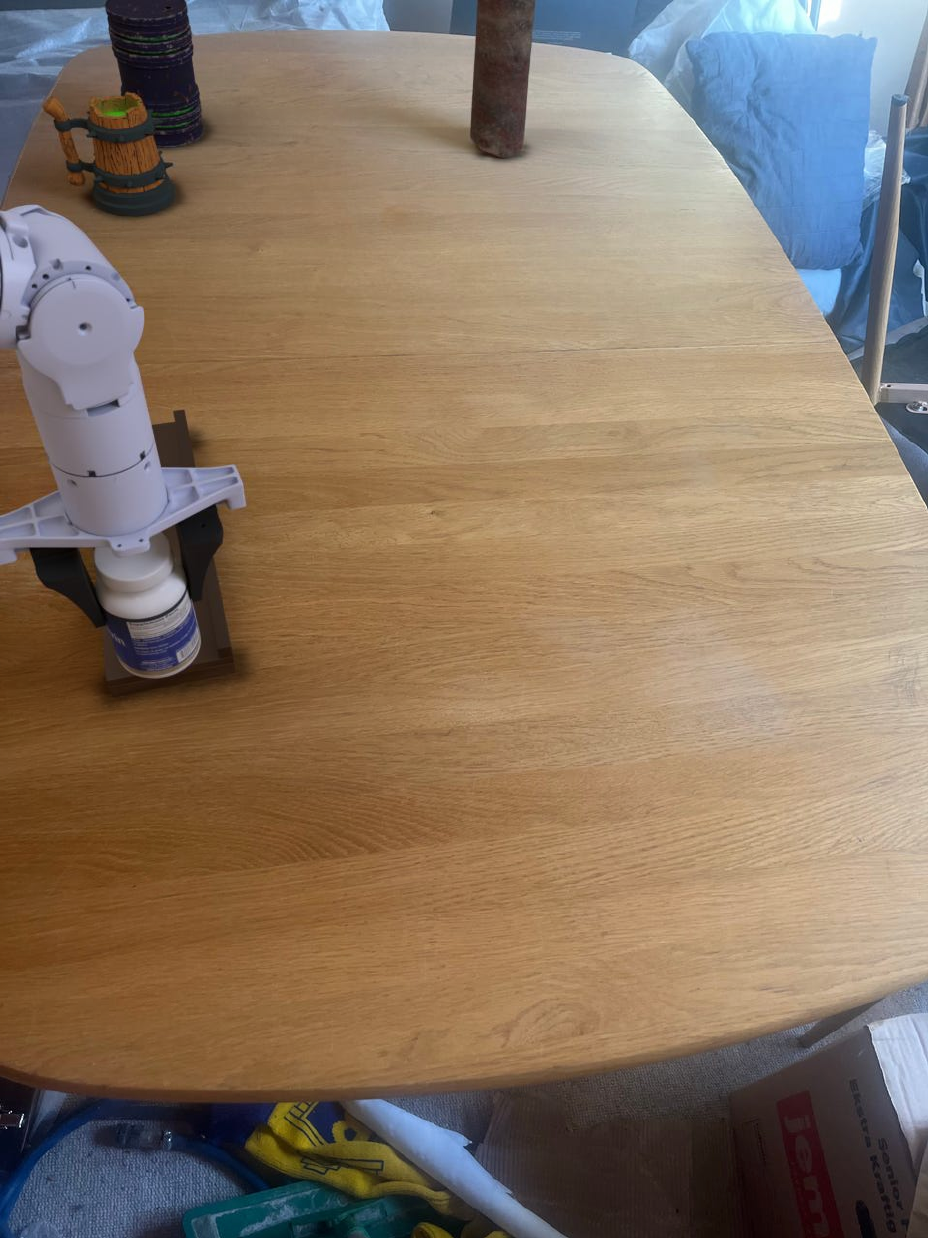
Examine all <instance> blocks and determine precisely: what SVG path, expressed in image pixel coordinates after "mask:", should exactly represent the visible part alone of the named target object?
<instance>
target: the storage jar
mask: <svg viewBox="0 0 928 1238" xmlns="http://www.w3.org/2000/svg"><path fill="white" fill-rule="evenodd" d="M104 8H105V9H104V10H105V14H106V15H107V17H106V20H107V24H108V28H107V29H108V35H109V39H110V41H111V50H112V52H113V56H114V57H115V59H116V62H117V67H118V72H119V77H120V82H121V85H120V96H125V94H126V92H130V93H135V94H137V95H138V96H139V97H140V98H141V99H142V102H143V104H144V106H145V109H146V110H150V109H152V110H153V112H152V113H151V114H150V115H151V117H152V118H153V119H154V120H163V123H162V124H160V125H157V126H155V129H154V131H153V132H154V133H155V134H154V135H153V136H154V140H155V143H156V147H157V148H176V147H183V146H187V145H189V144H192V143H194V142H197V141H198V140H199V139H200V138H202V137H203V135H204V131H205V130H204V124H203V122H202V120H203V115H202V112H203V107H202V100H201V97H200V96H201V92H200V88H199V85H198V84H197V83H196V77H195V69H194V68H195V67H194V62H193V56H194V49H195V47H194V44H193V33H192V27H191V24H190V18H189V15H188V13H189V12H188V11H189V9H188V3H187V1H186V0H105V1H104Z"/></svg>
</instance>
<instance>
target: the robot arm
mask: <svg viewBox="0 0 928 1238" xmlns="http://www.w3.org/2000/svg"><path fill="white" fill-rule="evenodd" d="M144 327H145V311H144V307H143V306H141V305H138V304H137V303H136V301H135V297H134V294H133V292H132V290H131V289H130V286H129V285H128V283H127V282H126V281H125V279H124V278H123V277H122V276H121V275H120V274H119V271H117V270H116V269H115V268H114V266H113V265H112V263H110V262H109V260H108V259H107V258H106V257H105V255H103V253H102V251H100V250H99V249H98V247H97V246H96V244H94V242H93V241H92V240H91V239H90V238H89V236H87V234H86V233H85V232H84V231H83V230H82V229H81V228H79V227H78V226H76V225H75V224H74V223H73V222H72V221H71V220H69V219H68V218H67V217H65V216H63V215H60V214H59V213H56V212H53V211H49V210H47V209H45V208H44V207H43V206H41V205H38V204H26V205H20V206H19V205H18V206H15V207H13V208H10V209H7V210H5V211H4V210H0V350H3V351H4V350H14V352H15V356H16V358H17V361H18V364H19V367H20V370H21V373H22V374H21V375H22V385H23V390H24V393H25V395H26V398H27V401H28V404H29V407H30V411H31V413H32V416H33V419H34V422H35V425H36V428H37V430H38V431H37V432H38V434H39V436H40V440H41V443H42V445H43V448H44V452H45V454H46V457H47V460H48V464H49V466H50V468H51V471H52V474H53V477H54V480H55V484H56V485H57V490H55V491H53V492H50V493H49V494H46V495H45V496H42V497H40V498H38V499H36V500H34V501H31V502H30V503H27V504H25V505H23V506H21V507H19V508H17V509H14V510H12V511H10V512H6V513H4V514H1V515H0V566H3V565H8V564H12V563H15V562H16V561H18V555H17V554H21V553H25V552H29V553H30V556H31V558H32V562H33V565H34V569H35V573H36V576H37V578H38V580H39V581H40V583H42V585H43V586H44V587H45V588H47V589H49V590H52V591H54V592H57V593H58V594H60V595H62V596H63V597H65V598H66V599H68V600H69V601H71V602H72V603H73V604H75V605H76V607H78V608H79V609H80V610H81V612H83V613H84V614H85V616H87V618H88V619H89V620H90V621H91V623H92V624H93V626H94V628H96V629H99V628H101V627H103V626H106V622H105V619H104V616H103V613H102V610H101V608H100V605H99V603H98V600H97V596H96V591H95V584H94V582H93V580H92V577H91V575H90V574H89V572H88V569H87V567H86V565H85V562H84V560H83V556H82V554H81V551H80V548H94V547H109V548H111V550H112V553H113V555H114V556H115V557H118V558H123V557H128V556H132V555H136V554H140V553H144V552H146V551H148V550H149V548H150V542H149V538H150V537H152V536H154V535H156V534H158V533H159V532H161V531H163V530H165V529H167V528H169V527H171V526H173V525H175V528H176V532H177V536H178V541H179V547H180V555H181V563H182V567H183V569H184V571H185V574H186V578H187V582H188V587H189V591H190V596H191V599H192V602H197V601H201V600H202V599H203V586H204V581H205V577H206V573H207V570H208V567H209V564H210V562H211V560H212V558H213V556H215V554H216V553H217V551H218V550H219V548H220V547H221V546H222V545H223V544H224V543H223V542H224V535H225V533H224V527H223V523H222V521H221V518H220V515H219V512H218V507H219V506H223V505H226V507H227V509H229V510H231V511H233V510H238V509H243V508H246V507H247V502H246V495H245V488H244V482H243V480H242V477H241V475H240V473H239V471H238V469H237V466H236V465H235V464H234V463H232V464H228V465H227V464H226V465H221V466H212V467H196V468H169V467H161V465H160V460H159V456H158V452H157V447H156V443H155V439H154V434H153V430H152V425H153V424H152V421H151V417H150V412H149V409H148V404H147V400H146V395H145V391H144V390H145V389H144V386H143V381H142V377H141V373H140V368H139V366H138V365H139V364H138V363H137V361H136V358H135V354H134V353H135V351H136V349H137V347H138V346H139V343H140V341H141V339H142V335H143V332H144Z"/></svg>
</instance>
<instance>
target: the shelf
mask: <svg viewBox="0 0 928 1238" xmlns="http://www.w3.org/2000/svg"><path fill="white" fill-rule="evenodd" d="M172 413H173V418H174V421H170V422H162V423H155V424H151V425H152V430H153V434H154V439H155V443H156V447H157V452H158V456H159V460H160V465H161V467H169V468H197V466H196V461H195V456H194V451H193V446H192V441H191V436H190V435H191V434H190V431H189V425H188V421H187V417H186V415H187V414H186V410H185V409H178V410H173V411H172ZM161 532H162V533H163V534H164V535H165V536H166V537H167V539H168V540H169V542H170V545H171V548H172V552H173V554H174V558H175V559H176V560H178V562H179V563H180V564H181V565H182V563H181V555H180V547H179V541H178V536H177V532H176V528H175V525H173V526H171V527H169V528H167V529H165V530H163V531H161ZM95 548H96V547H93V551H94V550H95ZM214 556H215V555H214ZM214 556H213V558H212V560H211V562H210V564H209V567H208V570H207V573H206V577H205V581H204V586H203V599H202V600H201V601H197V602H192V603H193V607H194V611H195V615H196V620H197V624H198V628H199V632H200V638H201V644H200V649H199V652H198V654H197V656H196V657H195V659H194V660H193V662H192V663H191V664H190V665H189V666H187V667H186V668H185V669H183V670H182V671H180V672H178V673H176V674H174V675H171V676H168V677H164V678H144V677H140V676H137V675H134V674H132V673H131V672H129V671H128V670H126V669H125V668H124V667H123V665H122V664H121V663H120V661H119V659H118V657H117V654H116V651H115V648H114V645H113V642H112V640H111V637H110V634H109V631H108V628H107V625H106V626H103V627H100V628H101V636H102V648H103V659H104V669H105V680H106V681H105V682H106V683H107V686H108V689H109V692H110V694H111V697H113V698H114V697H118V696H123V695H128V694H133V693H134V694H135V693H138V692H144V691H150V690H154V689H159V688H163V687H164V688H165V687H169V686H173V685H178V684H184V683H189V682H194V681H199V680H204V679H205V680H206V679H209V678H214V677H215V678H216V677H221V676H225V675H229V674H234V673H237V668H236V663H235V658H234V652H233V647H232V642H231V637H230V632H229V626H228V622H227V617H226V616H227V615H226V611H225V606H224V602H223V597H222V591H221V586H220V582H219V581H220V580H219V577H218V576H219V575H218V573H217V572H218V571H217V567H216V561H215V557H214ZM95 574H96V577H97V576H98V575H97V572H96V571H95Z"/></svg>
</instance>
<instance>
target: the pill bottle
mask: <svg viewBox="0 0 928 1238" xmlns="http://www.w3.org/2000/svg"><path fill="white" fill-rule="evenodd" d="M149 542H150V548H149V550H148V551H146V552H144V553H140V554H136V555H132V556H128V557H123V558H118V557H115V556H114V555H113V553H112V550H111V548H109V547H96V548H95V550H94V549H93V556H92V561H93V565H94V568H95V573H96V572H97V575H98V576H97V575H96V579H95V584H94V587H95V591H96V596H97V600H98V603H99V605H100V608H101V610H102V613H103V616H104V619H105V622H106V625H107V628H108V631H109V634H110V637H111V640H112V642H113V645H114V648H115V651H116V654H117V657H118V659H119V661H120V663H121V664H122V665H123V667H124V668H125V669H126V670H128V671H129V672H131V673H132V674H134V675H137V676H140V677H144V678H164V677H168V676H171V675H174V674H176V673H178V672H180V671H182V670H183V669H185V668H186V667H187V666H189V665H190V664H191V663H192V662H193V660H194V659H195V657H196V656H197V654H198V652H199V649H200V644H201V638H200V632H199V628H198V624H197V620H196V615H195V611H194V607H193V603H192V599H191V596H190V591H189V587H188V582H187V578H186V574H185V571H184V569H183V567H182V565H181V564H180V563H179V562H178V560H176V559H175V558H174V554H173V552H172V548H171V545H170V542H169V540H168V539H167V537H166V536H165V535H164V534H163V533H162V532H159V533H158V534H156V535H154V536H152V537H150V538H149Z"/></svg>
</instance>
